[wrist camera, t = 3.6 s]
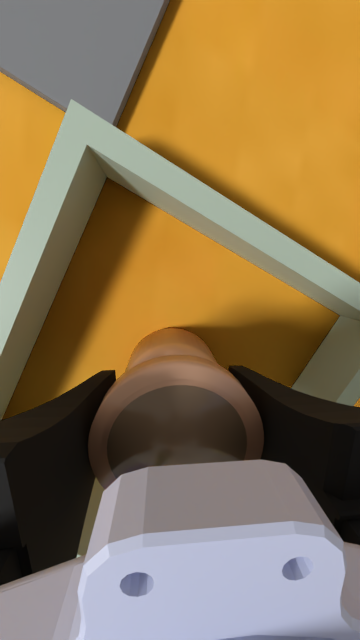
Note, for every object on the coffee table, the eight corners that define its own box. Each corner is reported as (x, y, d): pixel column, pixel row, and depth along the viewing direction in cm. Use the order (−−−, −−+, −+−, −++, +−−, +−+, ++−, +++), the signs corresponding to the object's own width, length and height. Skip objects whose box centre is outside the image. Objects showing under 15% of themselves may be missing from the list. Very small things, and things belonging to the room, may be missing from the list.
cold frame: (362, 308, 14) (474, 331, 9) (220, 514, 16) (244, 618, 12) (96, 144, 11) (41, 42, 6) (-22, 427, 14) (-126, 517, 9)
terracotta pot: (238, 348, 13) (297, 412, 7) (191, 426, 14) (210, 537, 8) (149, 303, 12) (137, 335, 6) (105, 389, 13) (58, 486, 7)
